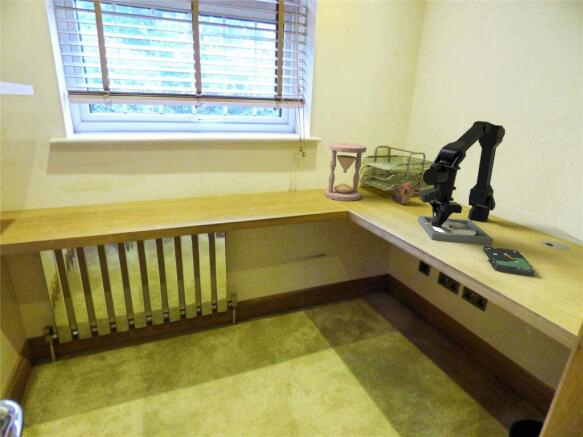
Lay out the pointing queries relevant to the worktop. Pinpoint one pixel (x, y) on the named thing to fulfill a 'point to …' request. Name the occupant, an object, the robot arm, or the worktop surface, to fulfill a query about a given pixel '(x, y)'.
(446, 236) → the dial housing
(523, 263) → the disk drive
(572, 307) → the worktop surface
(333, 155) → the hourglass
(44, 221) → the worktop surface
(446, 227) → the dial
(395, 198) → the decorative rock
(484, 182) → the robot arm
